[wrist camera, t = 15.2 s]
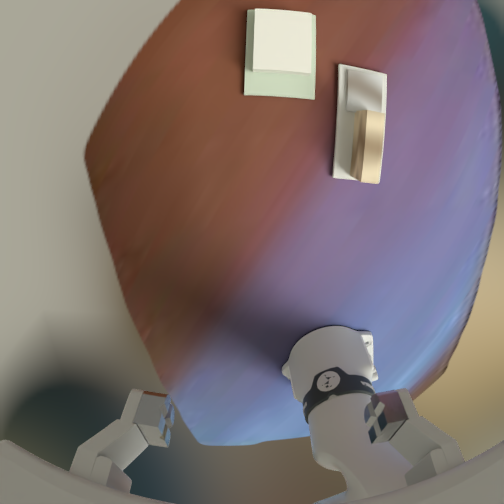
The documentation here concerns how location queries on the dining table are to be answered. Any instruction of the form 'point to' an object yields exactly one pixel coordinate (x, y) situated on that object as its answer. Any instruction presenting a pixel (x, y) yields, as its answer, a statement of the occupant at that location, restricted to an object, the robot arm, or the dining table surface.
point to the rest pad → (349, 124)
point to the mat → (274, 81)
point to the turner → (365, 124)
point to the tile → (282, 42)
